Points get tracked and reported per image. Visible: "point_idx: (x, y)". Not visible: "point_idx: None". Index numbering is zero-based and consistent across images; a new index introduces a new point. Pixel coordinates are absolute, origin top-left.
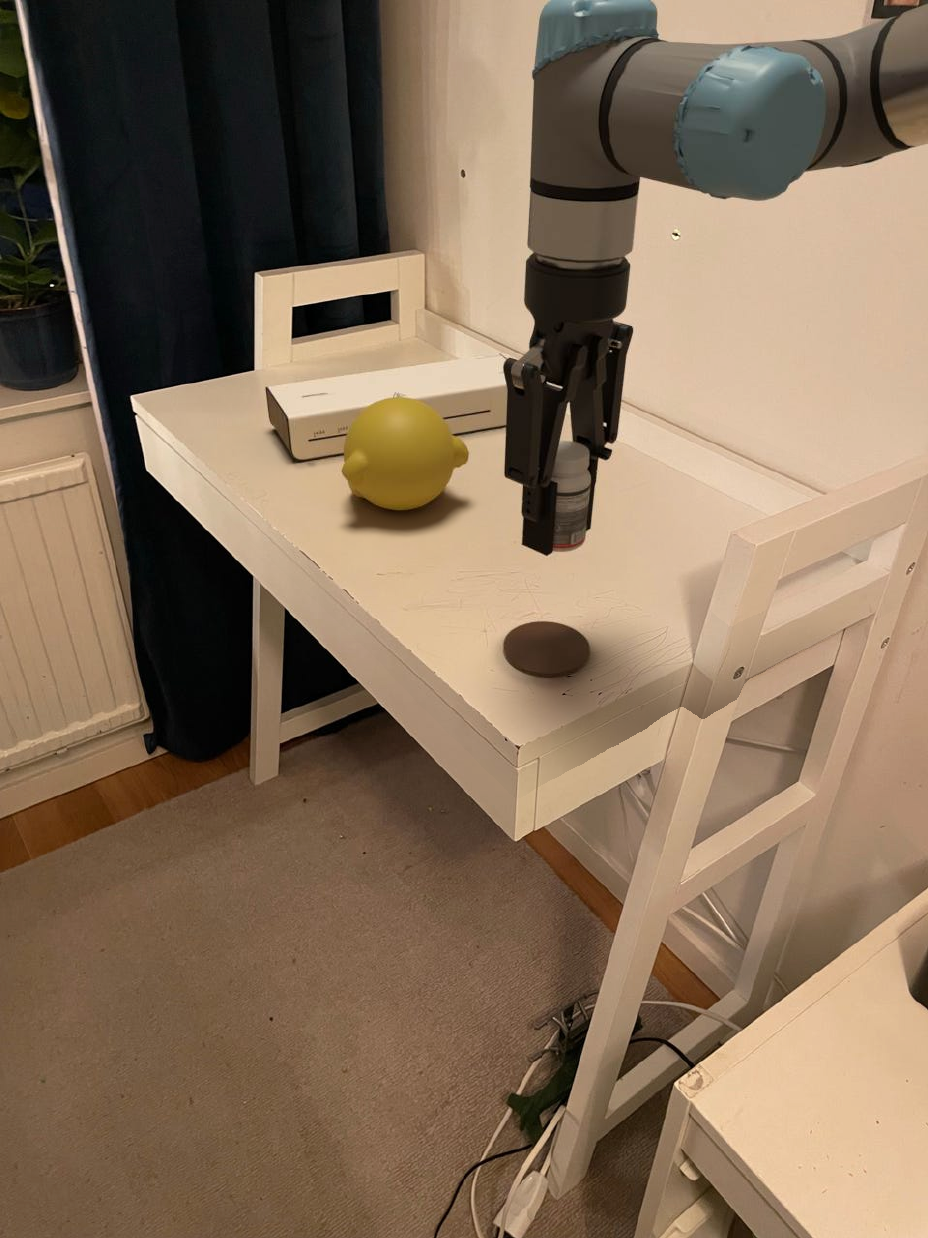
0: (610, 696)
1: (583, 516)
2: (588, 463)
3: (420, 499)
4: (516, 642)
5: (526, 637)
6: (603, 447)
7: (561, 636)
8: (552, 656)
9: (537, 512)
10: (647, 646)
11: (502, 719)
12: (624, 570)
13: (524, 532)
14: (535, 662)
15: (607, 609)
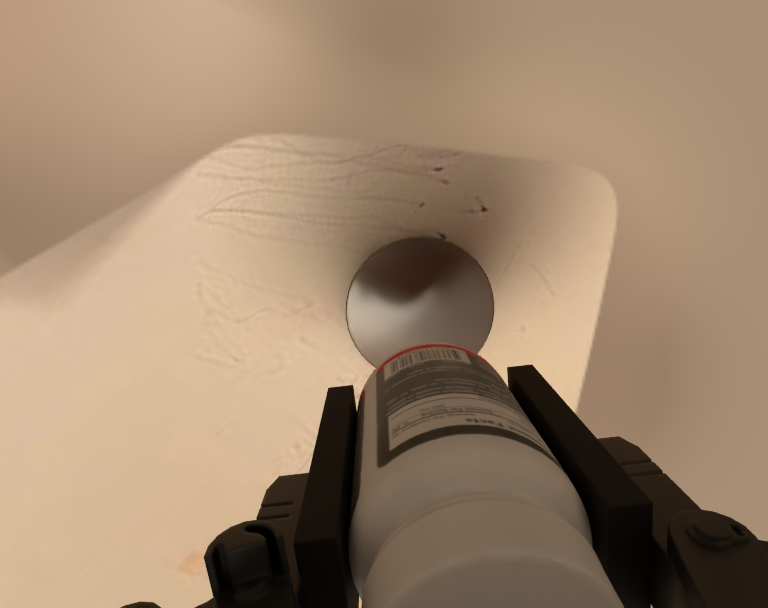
0: (430, 151)
1: (433, 380)
2: (426, 527)
3: None
4: None
5: None
6: (224, 596)
7: (380, 314)
8: (433, 285)
9: (631, 457)
10: (273, 202)
11: (602, 230)
12: (131, 386)
13: None
14: (467, 292)
15: (248, 323)
